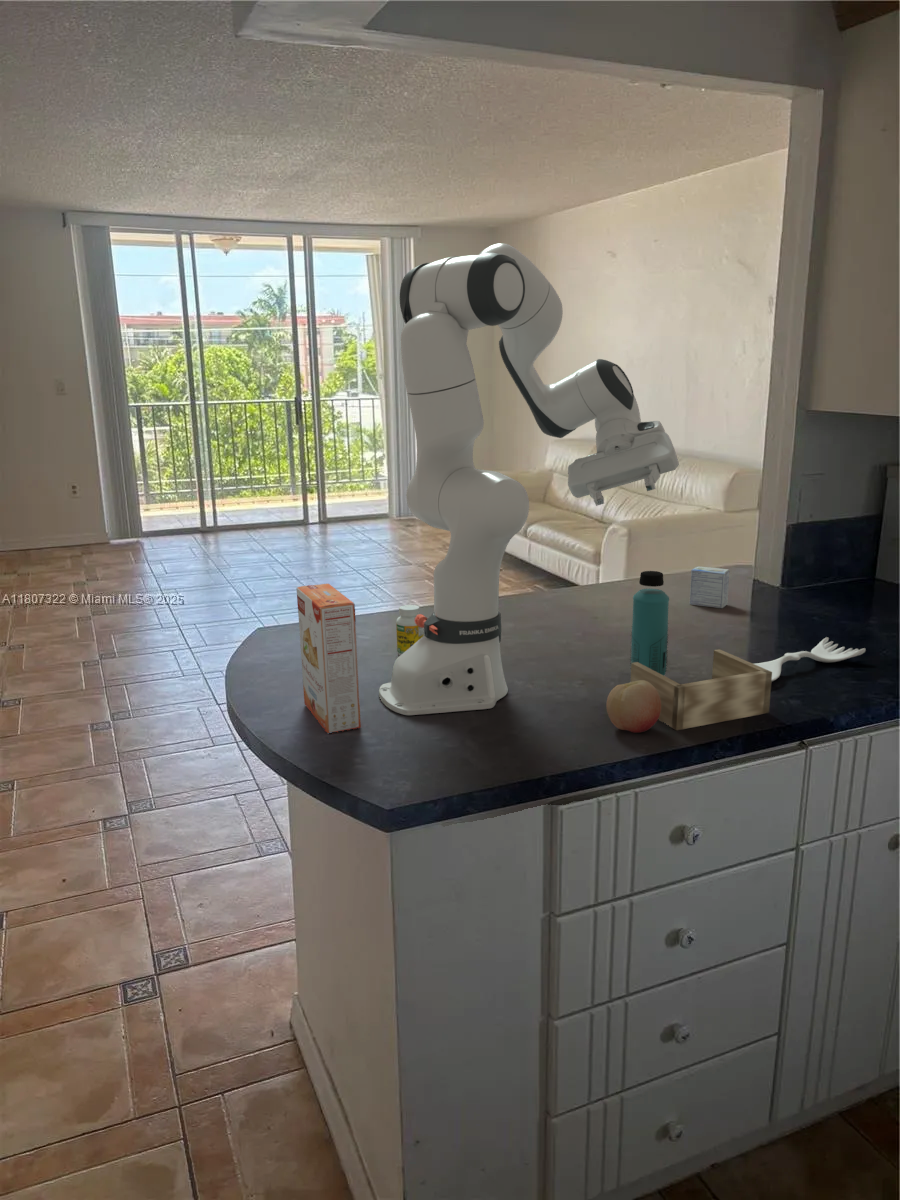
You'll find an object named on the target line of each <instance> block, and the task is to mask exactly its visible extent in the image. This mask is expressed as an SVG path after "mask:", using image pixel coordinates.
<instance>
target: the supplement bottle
mask: <svg viewBox="0 0 900 1200" xmlns="http://www.w3.org/2000/svg"><path fill="white" fill-rule="evenodd" d="M398 614H399V615H400V616H398V617H397V618H396V621H395V626H396V652H397V655H398V656H400V655H401V654H403V653H404V652H405V651H406V650H408V649H409V648H410V647H411V646H412V645H414V644H415V643H416V642H417V641H418V640H419V639H421V638H422V637H423V636H424V628H421V627H419V626H418V625H416V623H415V621H414V620H416V619H415V618H416V616H417V615H419V614H421V612H420V606H419V605H415V604H406V605H401V606H399V608H398Z"/></svg>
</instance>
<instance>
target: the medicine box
mask: <svg viewBox="0 0 900 1200" xmlns="http://www.w3.org/2000/svg"><path fill="white" fill-rule="evenodd" d="M690 572H691V573H690V587H689V588H690V591H689V605H690V604H691V605H692V606H700V607H708V608H716V609H724V608H725V607H726V606H727V605H728V602H729V601H728V598H729V584H730V583H729V582H730V569H727V568H719V567H709V566H708V567H707V566H696V567H694V568H692V569H691V571H690Z"/></svg>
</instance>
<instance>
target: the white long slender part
mask: <svg viewBox="0 0 900 1200" xmlns="http://www.w3.org/2000/svg"><path fill="white" fill-rule="evenodd" d="M829 639H830V638H829V637H827V636H826V637H825V638H823V639H822V640H821V641H819V643H817V645H816V646H814V647H813V648H812V649H811V650H810V651H807V650H805V651H804V650H801V651H797V652H786V653H784V655H783V656H781V657H779V658H776V659H773V660H769V661H764V662H759V663H758V662H757V663H754V664H755V665H757V666H759V667H762V668H764V669H766V670H769V671H771V672H772V680H771V683H772V682H774V681H776V680H777V679H778V678H780V676H781V672H782V665H783V664H785V663H786V662H789V661H799V660H801V658H810V659H812V660H815V661H817V662H822V663H836V662H841V661H844V660H847V659H850V658H851V659H852V658H854V657H858V656H861V655H863V654H865V653H866V651H867V650H866V648H865V647H864V648H860V649H859V648H855V649H853V647H850V648H848V649H846V647H845V646H842V647H839V648H837V647H838V646H839V643H835V644H833V643H834V641H832V640H831V641H829ZM836 648H837V649H836ZM845 649H846V650H845Z"/></svg>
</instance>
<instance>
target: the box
mask: <svg viewBox="0 0 900 1200" xmlns="http://www.w3.org/2000/svg"><path fill="white" fill-rule="evenodd" d="M712 658H713V659H712V673H711V679H706V680H700V681H692V682H687V683H681V684H680V683H678V681H677V682H676V681H675V680H672V679H671V678H669V677H667V676H665V675H664V676H663V675H661V674H660V673H658V672H656V671H654V670H652V669H650V668H648V667H646V666H644V665H642V664H640V663H638V662H634V663H631V662H630V668H631V669H630V682H634V681H639V680H644V681H647V682H649V683H650V684H652V685H653V686H654V687H655V689H656V690H657V692H658V694H659V696H660V699H661V712H660V716H659V718H658V719H659V720H658V721H659V722H661V723H663V722H664V724H665V723H666V724H665V725H667V726H668V725H669V726H668V727H670V728H672V729H674V730H675V731H682V730H686V729H690V728H696V727H700V726H701V727H702V726H706V725H712V724H718V723H722V722H728V721H733V720H738V719H743V718H748V717H754V716H759V715H764V714H769V713H770V703H771V690H772V682H771V680H772V672H771V671H769V670H766V669H764V668H762V667H759V666H757V665H755V664H756V663H752V662H750V661H748V660H745V659H743V658H741V657H739V656H736V655H734V654H732V653H729V652H727V651H724V650H722V649H714V650H713V657H712Z"/></svg>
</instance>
